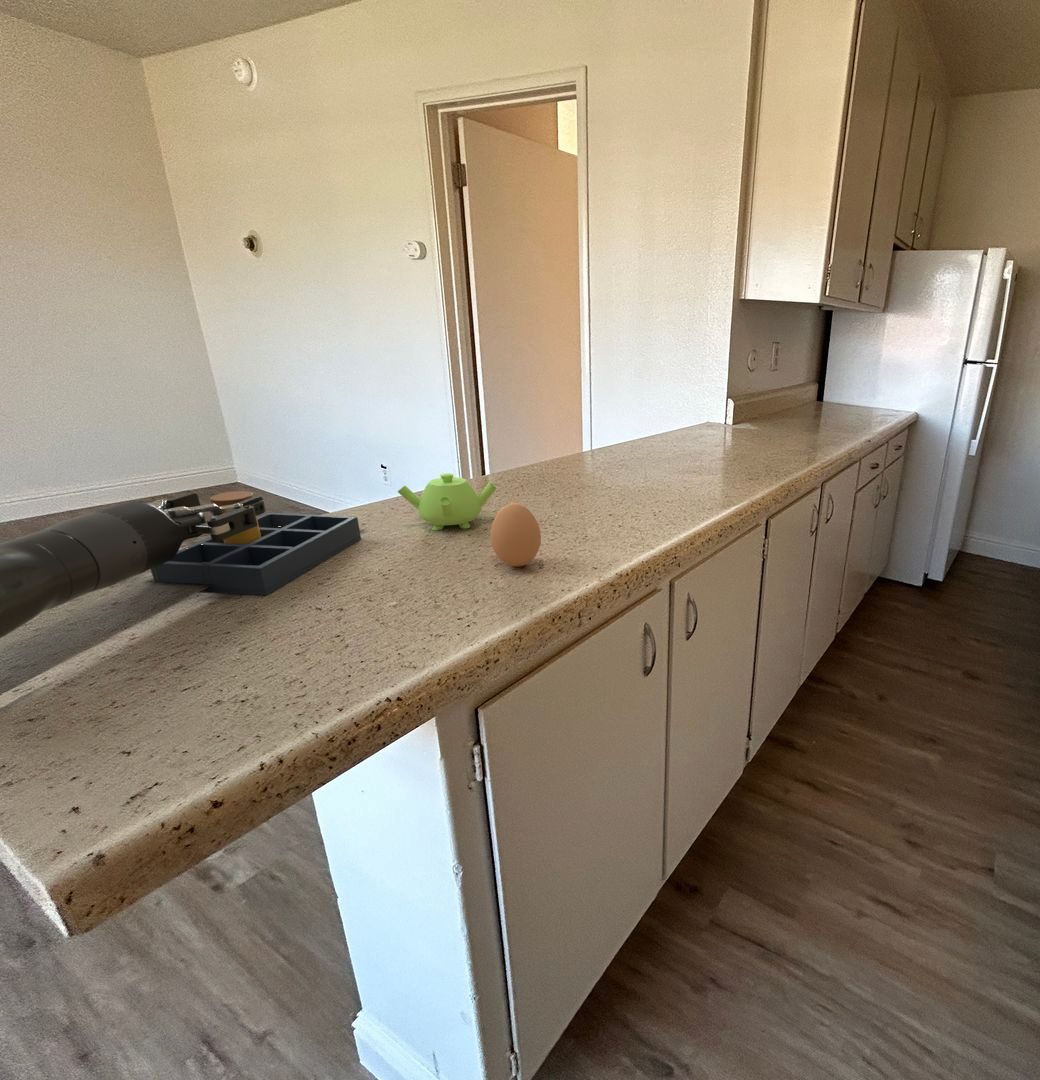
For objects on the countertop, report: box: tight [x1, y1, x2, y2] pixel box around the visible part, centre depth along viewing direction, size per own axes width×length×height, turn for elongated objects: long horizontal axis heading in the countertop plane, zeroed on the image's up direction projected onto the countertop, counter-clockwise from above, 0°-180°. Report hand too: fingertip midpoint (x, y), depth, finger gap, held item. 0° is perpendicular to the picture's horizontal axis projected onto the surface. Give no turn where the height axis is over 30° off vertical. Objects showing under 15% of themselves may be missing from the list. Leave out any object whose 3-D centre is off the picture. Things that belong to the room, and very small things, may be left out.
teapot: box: [397, 472, 498, 531], centre depth 97 cm, size 11×12×8 cm
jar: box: [209, 490, 261, 544], centre depth 79 cm, size 4×4×8 cm
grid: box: [150, 512, 362, 596], centre depth 80 cm, size 13×20×4 cm
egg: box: [490, 502, 542, 568], centre depth 82 cm, size 7×7×9 cm
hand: (228, 502), depth 78 cm, fingers open, 8 cm apart
